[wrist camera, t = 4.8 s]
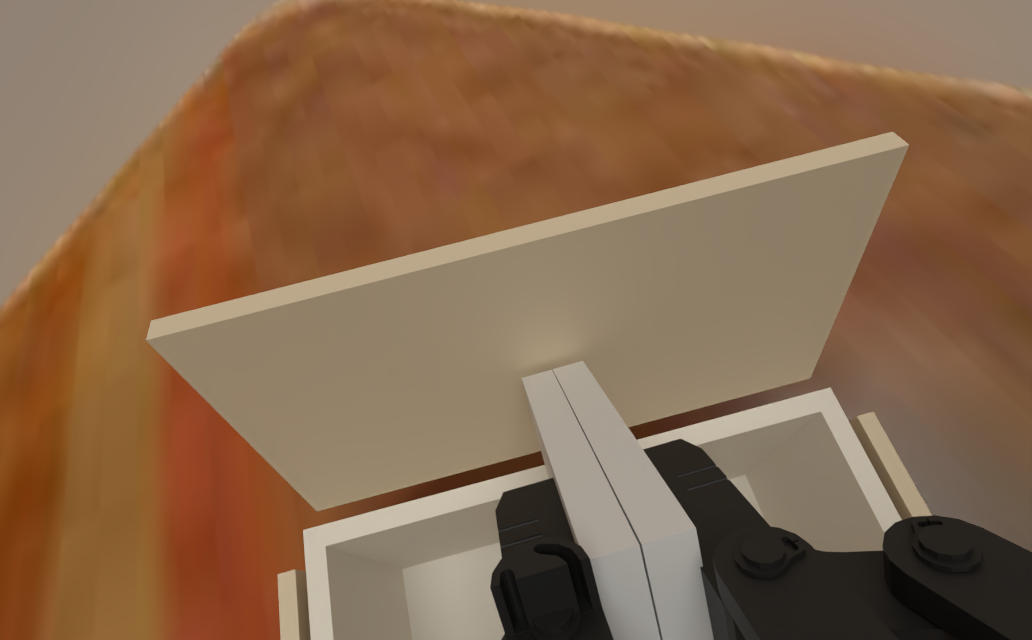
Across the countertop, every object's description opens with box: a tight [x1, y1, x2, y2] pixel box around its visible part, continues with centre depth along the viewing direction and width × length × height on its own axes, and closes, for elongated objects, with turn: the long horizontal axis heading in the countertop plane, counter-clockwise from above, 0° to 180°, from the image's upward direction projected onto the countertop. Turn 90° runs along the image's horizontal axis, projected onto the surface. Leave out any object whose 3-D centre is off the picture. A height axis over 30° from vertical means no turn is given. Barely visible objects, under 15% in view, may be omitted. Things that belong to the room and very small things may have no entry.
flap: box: [146, 132, 909, 511], centre depth 14 cm, size 15×1×8 cm, turn 104°
